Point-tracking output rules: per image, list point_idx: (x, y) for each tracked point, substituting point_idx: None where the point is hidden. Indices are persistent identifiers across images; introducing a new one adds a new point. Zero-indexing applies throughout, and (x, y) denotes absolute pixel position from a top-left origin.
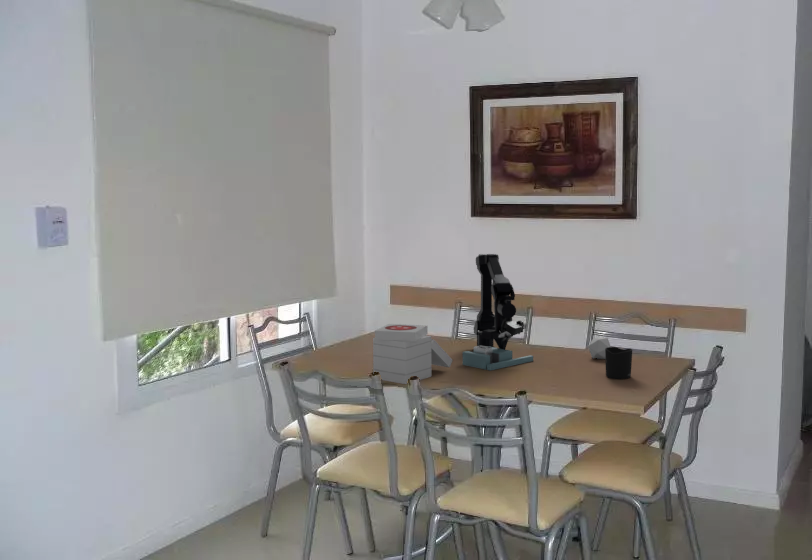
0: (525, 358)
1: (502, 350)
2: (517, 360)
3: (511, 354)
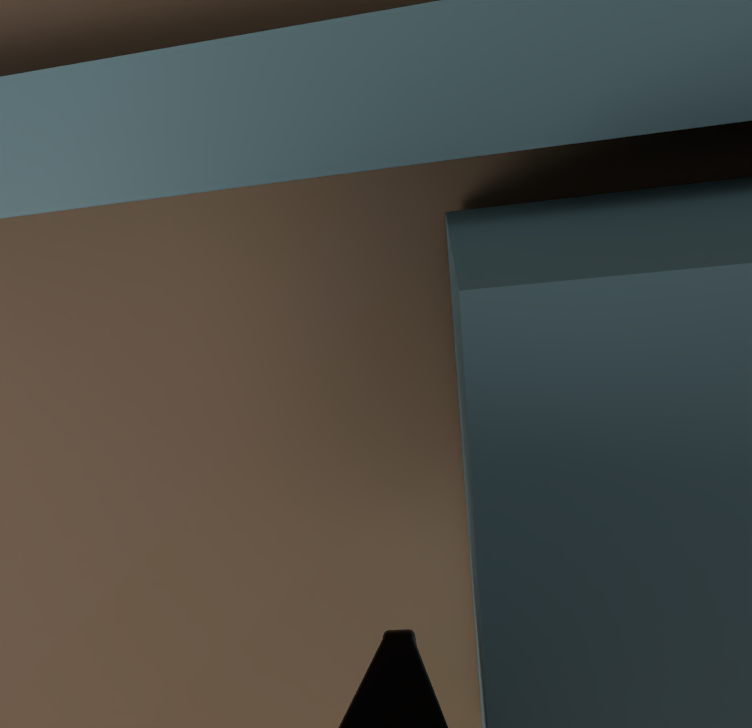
0: (45, 73)
1: (736, 609)
2: (409, 17)
3: (506, 248)
